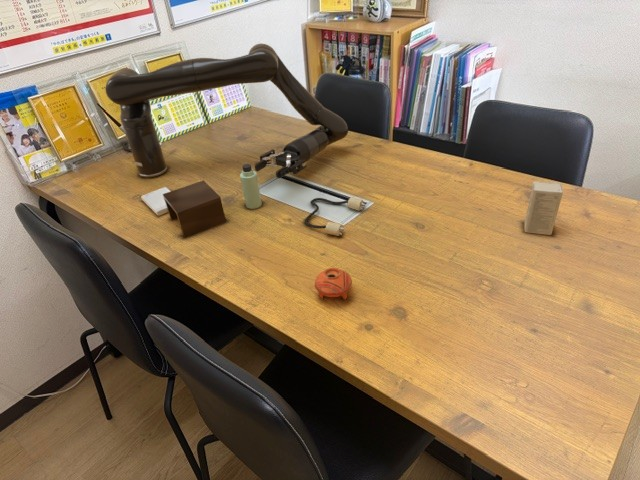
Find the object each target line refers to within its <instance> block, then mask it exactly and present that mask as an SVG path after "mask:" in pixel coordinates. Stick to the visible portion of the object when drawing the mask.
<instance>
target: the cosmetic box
mask: <svg viewBox="0 0 640 480" xmlns="http://www.w3.org/2000/svg"><path fill="white" fill-rule="evenodd" d="M531 187H532V188H531V191H530V194H529V195H530V196H529V200H528V205H527V209H526V214H525V219H524V222H523V223H524V224H523V225H524V228H523V229H524V233H529V234H538V235H547V236H548V235H549V236H552V235H553V231H554V227H555V224H556V219H557V216H558V212H559V208H560V205H561V202H562V201H561V200H562V197H563V194H564V190H563V185H562V183H560V182H548V181H547V182H546V181H533V182H532V186H531Z"/></svg>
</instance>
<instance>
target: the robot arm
mask: <svg viewBox="0 0 640 480" xmlns="http://www.w3.org/2000/svg"><path fill="white" fill-rule="evenodd" d="M269 81H270V82H271V83H272V84H273V85H274V86H275V87H276V88H278V90H279V91H280V92H281V93H282V94H283V96H284V97H285V98H286V100H287V102H289V104H290V105H291V106H292V108H293V109H294V110H295V111H296V112H297V113H298V114H299V115H300V117H302V118H303V119H304V120H305V121H306V122H307V123H308V124H309V125H311V126H318V127H316V128H315V129H314V130H311V131H309V132H308V133H306V134H304V135H302V136H299V137H298V138H296V139H294V140H292V141H291V142H289V143H287V144H286V145H284V148H283V149H282V151H279V152H276V150H275V149H271V150H269V151H266V152H265V153H263V154H261V155H259V161H258V162H256V163H255V164H254V171H255V172H260V171H262V170H263V169H265V168H266V167H272V168H273V167H280V168H279V169H277V170H276V171H275V176H276V178H277V179H281V178H283V177H284V176H287V175H290V174H292V175H297V174H299V173H300V172H302V171H303V170H304V169H306V168H307V162H309V161H310V160H312V159H313V158H314V157H316V156H317V155H318V154H319V153H321V152H323V151H324V150H325V149H327V147H328V146H330V145H332V144H334V143H336V142H338V141H341V140H343V139H345V138H346V137H347V136H348V134H349V127H348V124H347V122H346V121H345V120H344V118H342V117H341V116H340V115H338V114H337V113H335V112H333V111H331V110H330V109H329V108H326V107H325V106H324V105H323V104H322V103H321V102H320V101H319V100H318V99H316V97H315V96H314V95H313V94H312V93H310V91H309V90H307V88H306V87H305V86H303V85H302V84H301V82H300V81H299V80H298V79H297V78H296V76H294V74H292V72H291V71H290V70H289V69H288V67H287V66H286V65H285V63H284V62H283V60H282V59H281V58H280V56H279V55H278V53H277V52H276V50H275V48H273V47H272V46H270V45H269V44H266V43H257V44H254V45H253V46H252V47H251V48H250V49H249V51H248V54H245V55H241V56H237V57H233V58H226V59H224V58H223V59H222V58H213V57H197V58H195V57H194V58H189V59H184V60H179V61H175V62H172V63H170V64H168V65H165V66H163V67H160V68H157V69H155V70H153V71H149V72H145V73H138V72H137V71H136V70H134V69H132V68H128V67H123V68H120V69H118V70H116V71H115V72H114V73H113V74H111V76H110V77H109V78H108V80H107V81H106V84H105V88H104V91H105V94H106V96H107V98H108V99H109V100H110V101H111V102H112V103H114V104H116V105H119V107H120V116H119V119H120V123H121V126H122V128H123V131H124V134H125V137H126V139H127V143H128V145H129V148H127V147H126V145H127V143H126V142H125V141H123V142H122V148H123V150H125V151H127V152H131V154H132V157H133V161H134V165H135V166H136V169H137V173H138V175H139V177H141V178H145V179H149V178H155V177H159V176H161V175H163V174H165V173H166V172H167V171H168V165H167V163H166V158H165V156H164V153H163V149H162V146H161V143H160V140H159V137H158V133H157V130H156V126H155V124H154V120H153V116H152V107H151V103H150V100H153V99H158V98H164V97H172V96H173V97H174V96H179V95H180V96H181V95H185V94H186V95H187V94H194V93H198V92H204V91H209V90H214V89H219V88H224V87H228V86H234V85H242V84H259V83H266V82H269ZM274 160H275V161H274Z"/></svg>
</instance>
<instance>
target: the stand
mask: <svg viewBox="0 0 640 480" xmlns="http://www.w3.org/2000/svg"><path fill="white" fill-rule="evenodd" d="M170 191H171V192H168V193H165V194H163V197H164V200H165V203H166V206H167V209H168V212H167V213H168V216H169V219H170V220H171V221H173V220H176V219H177V220H178V223H179V227H180V230H181V233H182V236H183V238H189V237H190V236H194V235H196V234H199V233H200V232H203V231H206V230H208V229H211V228H213V227H216V226H219V225H221V224H224V223H226V222H227V220H226V215H225V211H224V206H223V203H222V198H221V196H220V195H219V194H218V193H217V192H216V190H214V189H213V188H212V187H211V186H210V185H209V184H208V183H207V182H206V181H205V180H200V181H197V182H194V183H192V184H189V185H186V186H183V187H180V188H177V189H174V190H170Z"/></svg>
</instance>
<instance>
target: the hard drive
mask: <svg viewBox="0 0 640 480" xmlns="http://www.w3.org/2000/svg"><path fill="white" fill-rule="evenodd" d="M171 191H172V190H170V189H169V188H168V187H167V186H163V187H161V188H159V189H156V190H153V191H150V192H148V193H146V194H143V195H141V196H140V199H141V201H142V202H144V203H145V205H146V206H147V207H148V208H150V209H151V211H152V212H153V213H154V214H155V215H157V217H159V216H163V215H164V214H167V213H168V209H167V206H166V203H165V200H164V197H163V194H165V193H168V192H171Z"/></svg>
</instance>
